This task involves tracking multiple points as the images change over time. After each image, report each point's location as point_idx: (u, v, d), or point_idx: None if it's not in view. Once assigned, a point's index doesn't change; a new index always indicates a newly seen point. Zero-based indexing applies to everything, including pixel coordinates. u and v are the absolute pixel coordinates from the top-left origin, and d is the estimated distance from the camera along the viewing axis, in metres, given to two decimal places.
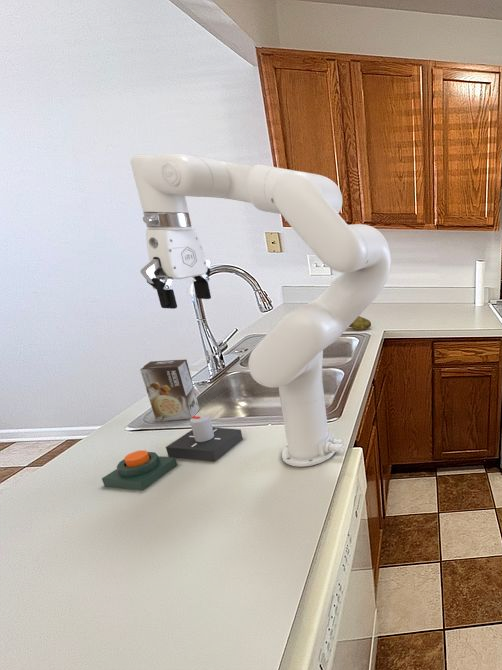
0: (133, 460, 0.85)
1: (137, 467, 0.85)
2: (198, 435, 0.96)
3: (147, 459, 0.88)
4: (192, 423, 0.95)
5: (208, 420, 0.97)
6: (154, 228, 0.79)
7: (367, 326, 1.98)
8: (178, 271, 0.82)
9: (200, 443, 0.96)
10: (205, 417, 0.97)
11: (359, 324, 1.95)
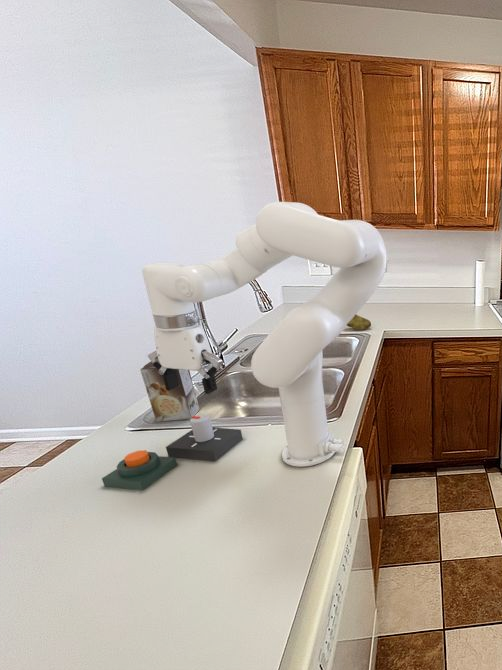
0: (133, 460, 0.85)
1: (137, 467, 0.85)
2: (198, 435, 0.96)
3: (147, 459, 0.88)
4: (192, 423, 0.95)
5: (208, 420, 0.97)
6: (192, 326, 0.88)
7: (367, 326, 1.98)
8: None
9: (200, 443, 0.96)
10: (205, 417, 0.97)
11: (359, 324, 1.95)
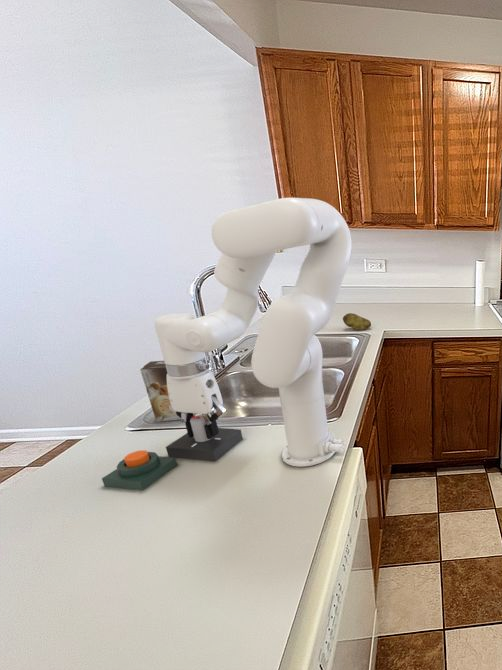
0: (133, 460, 0.85)
1: (137, 467, 0.85)
2: (198, 435, 0.96)
3: (147, 459, 0.88)
4: (192, 423, 0.95)
5: None
6: (203, 372, 0.92)
7: (367, 326, 1.98)
8: None
9: (200, 443, 0.96)
10: None
11: (359, 324, 1.95)
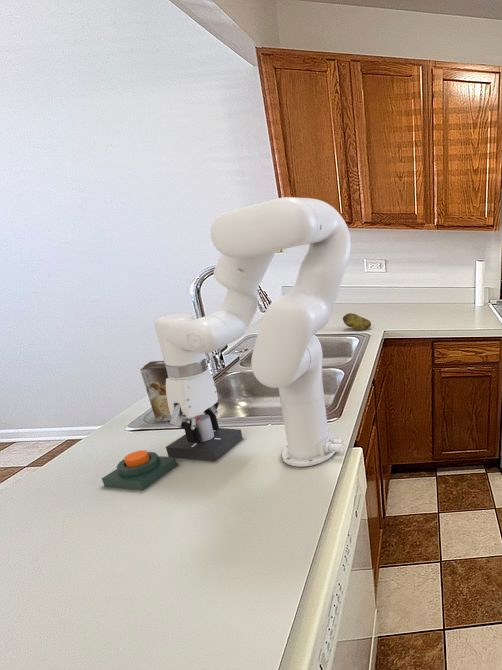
0: (133, 460, 0.85)
1: (137, 467, 0.85)
2: (211, 431, 0.98)
3: (147, 459, 0.88)
4: (206, 421, 0.96)
5: None
6: None
7: (367, 326, 1.98)
8: None
9: (200, 443, 0.96)
10: (200, 416, 0.97)
11: (359, 324, 1.95)
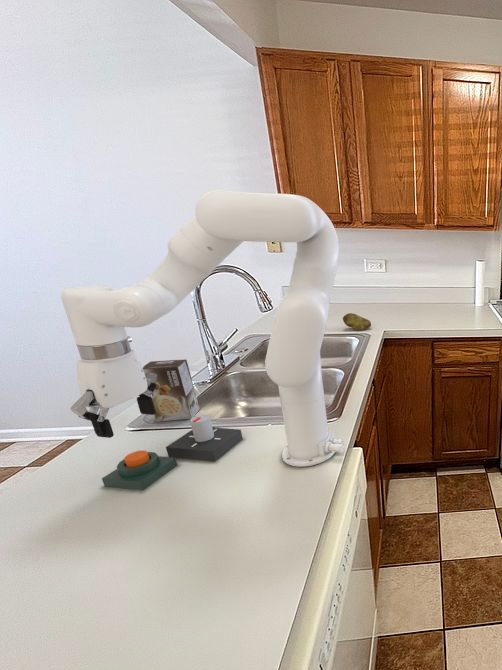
0: (133, 460, 0.85)
1: (137, 467, 0.85)
2: (211, 431, 0.98)
3: (147, 459, 0.88)
4: (206, 421, 0.96)
5: None
6: None
7: (367, 326, 1.98)
8: None
9: (200, 443, 0.96)
10: (200, 416, 0.97)
11: (359, 324, 1.95)
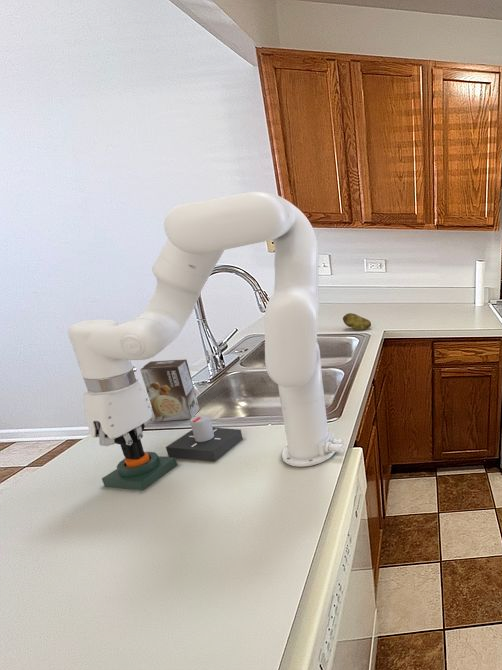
0: (134, 461, 0.85)
1: (137, 467, 0.85)
2: (211, 431, 0.98)
3: (147, 460, 0.88)
4: (206, 421, 0.96)
5: None
6: None
7: (367, 326, 1.98)
8: None
9: (200, 443, 0.96)
10: (200, 416, 0.97)
11: (359, 324, 1.95)
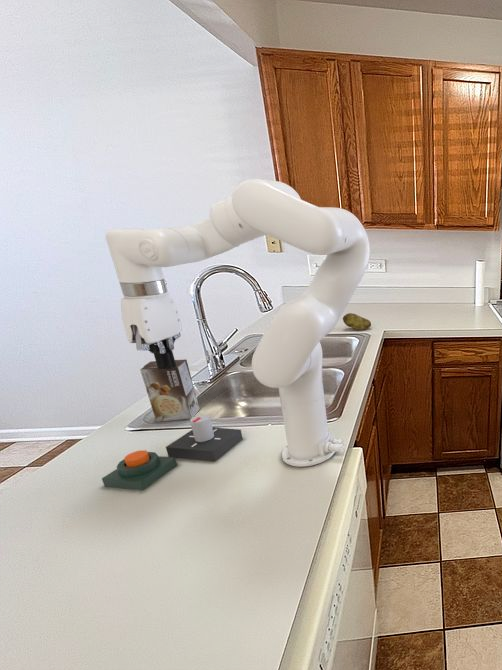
0: (133, 460, 0.85)
1: (137, 467, 0.85)
2: (211, 431, 0.98)
3: (147, 459, 0.88)
4: (206, 421, 0.96)
5: None
6: None
7: (367, 326, 1.98)
8: None
9: (200, 443, 0.96)
10: (200, 416, 0.97)
11: (359, 324, 1.95)
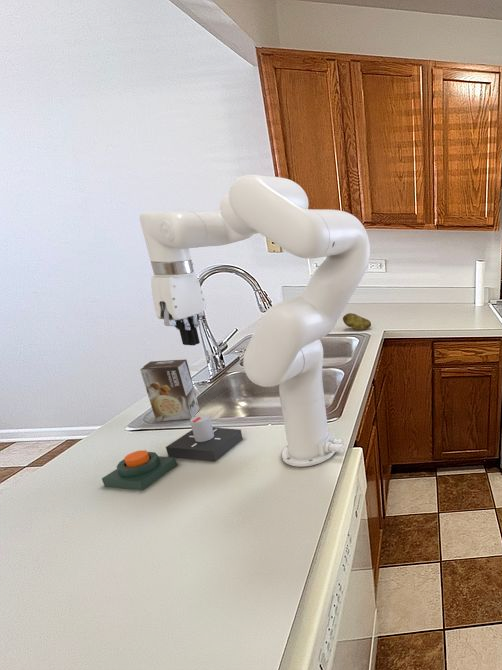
0: (133, 460, 0.85)
1: (137, 467, 0.85)
2: (211, 431, 0.98)
3: (147, 459, 0.88)
4: (206, 421, 0.96)
5: None
6: None
7: (367, 326, 1.98)
8: None
9: (200, 443, 0.96)
10: (200, 416, 0.97)
11: (359, 324, 1.95)
